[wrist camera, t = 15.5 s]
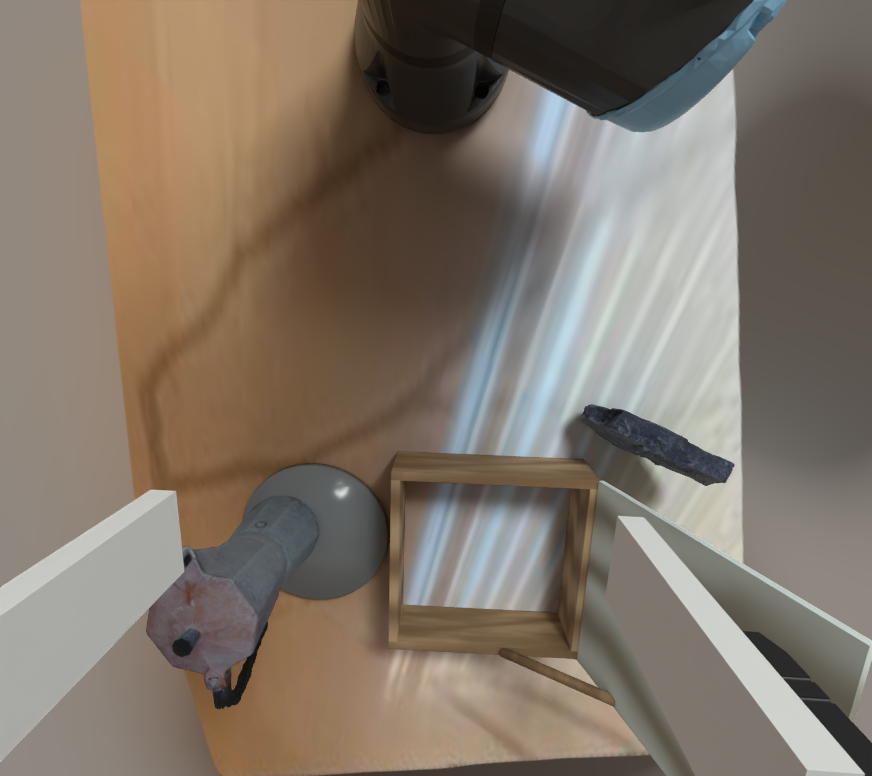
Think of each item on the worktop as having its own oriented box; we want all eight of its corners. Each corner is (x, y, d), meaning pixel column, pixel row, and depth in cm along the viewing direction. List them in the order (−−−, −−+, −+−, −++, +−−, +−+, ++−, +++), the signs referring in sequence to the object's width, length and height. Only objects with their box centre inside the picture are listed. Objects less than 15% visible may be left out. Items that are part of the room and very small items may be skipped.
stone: (564, 441, 49) (593, 475, 39) (578, 391, 48) (612, 414, 38) (679, 464, 49) (737, 505, 39) (696, 416, 48) (760, 445, 38)
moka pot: (304, 463, 49) (209, 563, 30) (341, 577, 52) (277, 738, 32) (229, 481, 50) (88, 591, 30) (270, 593, 53) (164, 760, 33)
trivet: (241, 460, 51) (237, 463, 50) (389, 466, 50) (388, 469, 49) (250, 590, 54) (246, 595, 53) (387, 597, 54) (386, 602, 53)
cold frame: (397, 451, 50) (340, 618, 23) (649, 462, 49) (880, 646, 23) (395, 611, 54) (344, 901, 28) (625, 623, 54) (795, 931, 27)
